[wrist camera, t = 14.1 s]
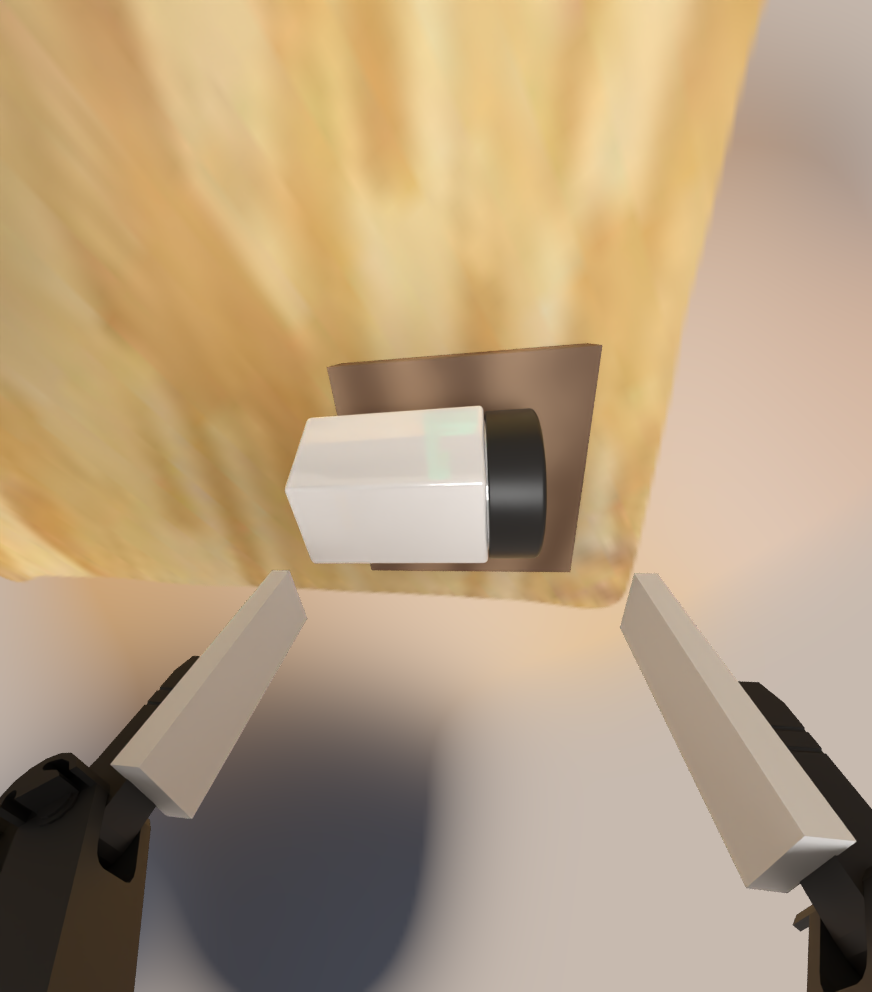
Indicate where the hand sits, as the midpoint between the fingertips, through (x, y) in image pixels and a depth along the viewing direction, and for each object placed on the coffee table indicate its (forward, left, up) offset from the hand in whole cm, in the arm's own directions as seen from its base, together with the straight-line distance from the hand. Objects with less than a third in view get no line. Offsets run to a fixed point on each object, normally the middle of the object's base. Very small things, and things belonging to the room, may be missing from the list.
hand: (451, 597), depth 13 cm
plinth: (0, 0, -13) cm, 13 cm away
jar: (-8, +1, -7) cm, 11 cm away
